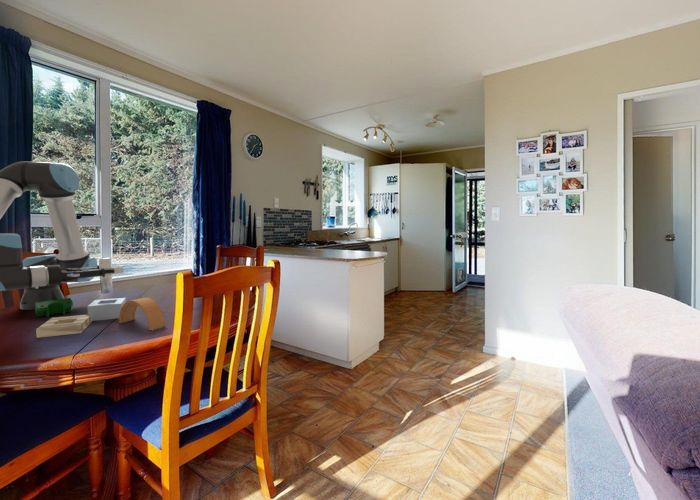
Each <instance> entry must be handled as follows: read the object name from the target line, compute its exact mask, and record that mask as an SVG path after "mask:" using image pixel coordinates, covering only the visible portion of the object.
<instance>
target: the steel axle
mask: <svg viewBox="0 0 700 500" xmlns="http://www.w3.org/2000/svg"><path fill="white" fill-rule="evenodd" d="M98 265H99V269H104V268H111V266H112V258H111V257H103V258H102V257H100V258H98ZM99 286H100V287H99V289H100V290H99V291H100V294H111V293H113V291H114V290H113V274H110V275H105V277H103V276H99Z"/></svg>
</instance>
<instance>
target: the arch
mask: <svg viewBox="0 0 700 500" xmlns="http://www.w3.org/2000/svg"><path fill="white" fill-rule="evenodd" d="M138 307H139V308H140V309H141V310H142V311H143V313H144V315H145V317H146V320H147V323H148V328H149V329H148V331H149V330H152V331H155V330H154V329H156V330H158V329H157V328H159V329H161V328H160V327H163V326H165V327H166V322H165V321H166V320H165V317H164V314H163V311H162V309H161V308H160V305H159V304H158V303H157V302H156V301H155V300H154V299H152V298H150V297H143V298H137V299H132V300H128V301H127V300H126V303H125V304H124V305H123V306H122V308H121V310H120V314H119V318H118V323H119V324H122V323H127V322H130V321H133V320H136V311H137V308H138ZM163 328H164V327H163Z"/></svg>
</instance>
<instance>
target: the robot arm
mask: <svg viewBox="0 0 700 500" xmlns="http://www.w3.org/2000/svg"><path fill="white" fill-rule="evenodd" d="M79 189H80V179H79V176H78V173H77V171H76V170H75V169H74V168H73V167H72V166H71V165H69V164H67V163H60V162H56V161H55V162H54V161H51V162H50V161H49V162H48V161H26V160H25V161H24V160H23V161H16V162H14V163H12V164H8V166H6V167H4V168H2V169H0V220H1V219H3V216H4V215H5V213H6V212H7V210H8V209H9V207H10V206H11V205H12V203H13V202H14V200H15V199H16V198H19V197H21V196H22V195H23V193H25V192H28V191H32V192H37V193H38V196H39V198H41V199H42V200H45V204H46V207H47V211H48V215H49V219H50V222H51V226H52V230H53V233H54V238H55V241H56V245H57V249H58V253H57V254H55V253H53V254H44V255H37V256H30V257H26V258H25V257H24V259H23V245H22V239H21V235H20V234H18V233H14V232H13V233H12V232H11V233H10V232H9V233H7V232H5V233H0V291H1V292H4V291H13V290H22V289H24V291H23V294H22V297H21V300H20V302H19V309H20V310H23V311H35V303H36V302H43V301H51V300H58V299H66V298H65V297H64V294H63V292H62V290H61V288H60V286H61V285H62V283H63V284H64V283H67V284H68V283H78V284H80V283H86V282H91V281H92V280H93V279H94V278H95V277H100V276H103V277H105V275H110V274H112V275H117V274H118V275H119V274H124V267H123V266H120V265H111V268H104V269H99V264H98V260H97V258H96V257H95V256H90V253H89V251H88V250H87V249H84V244H83V241H82V235H81V232H80V227H79V224H78V223H79V222H78V219H77V215H76V211H75V208H74V207H75V206H74V202H73V198H74V197H75V196H76V192H77V191H78V190H79Z"/></svg>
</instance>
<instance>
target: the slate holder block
mask: <svg viewBox="0 0 700 500" xmlns="http://www.w3.org/2000/svg"><path fill="white" fill-rule="evenodd" d="M126 302H127V297H118V298H104V299H103V298H102V299H94V300H93V301H92V302H91V303H89V304H88V305H87V315H90V314H92V322H93V321H106V320H115V319H117V320H118V319H119V314H120V310H121V308H122V306H123V305H124V304H125V303H126Z"/></svg>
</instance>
